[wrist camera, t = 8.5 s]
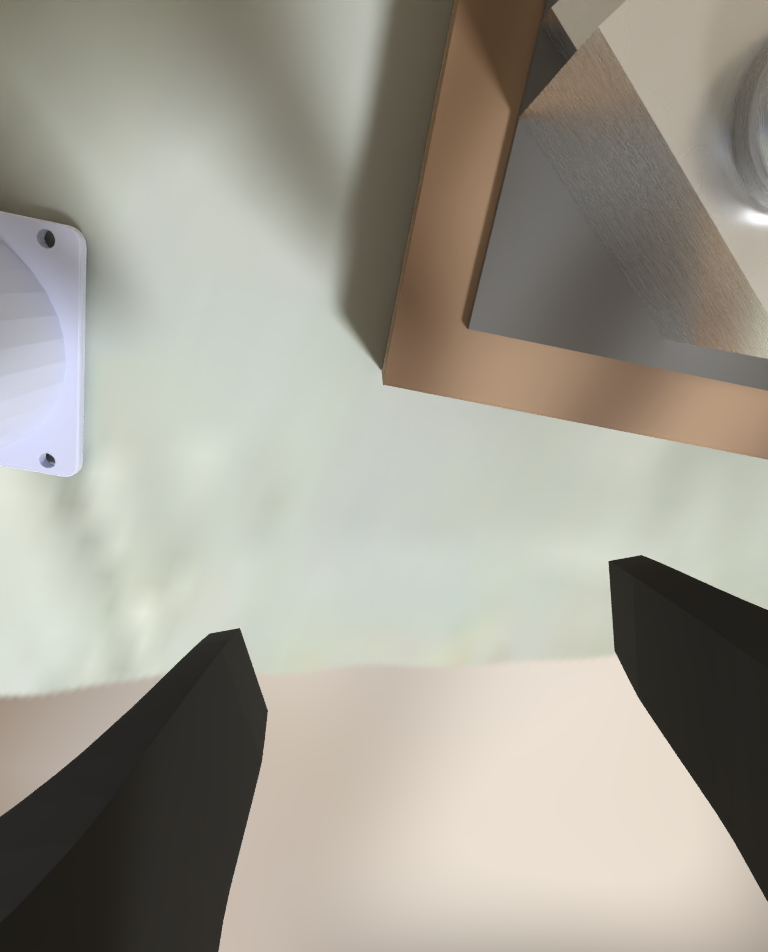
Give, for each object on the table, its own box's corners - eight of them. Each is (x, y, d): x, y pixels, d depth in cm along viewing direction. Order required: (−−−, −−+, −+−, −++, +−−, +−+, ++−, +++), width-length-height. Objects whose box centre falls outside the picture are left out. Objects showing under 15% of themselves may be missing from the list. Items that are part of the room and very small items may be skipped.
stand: (381, 371, 18) (382, 386, 15) (479, -131, 14) (504, -227, 11) (743, 442, 19) (802, 467, 17) (935, -4, 15) (1055, -65, 12)
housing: (687, 372, 16) (877, 425, 10) (489, 73, 13) (584, -98, 7) (837, 259, 15) (1147, 242, 9) (654, -86, 12) (917, -431, 6)
